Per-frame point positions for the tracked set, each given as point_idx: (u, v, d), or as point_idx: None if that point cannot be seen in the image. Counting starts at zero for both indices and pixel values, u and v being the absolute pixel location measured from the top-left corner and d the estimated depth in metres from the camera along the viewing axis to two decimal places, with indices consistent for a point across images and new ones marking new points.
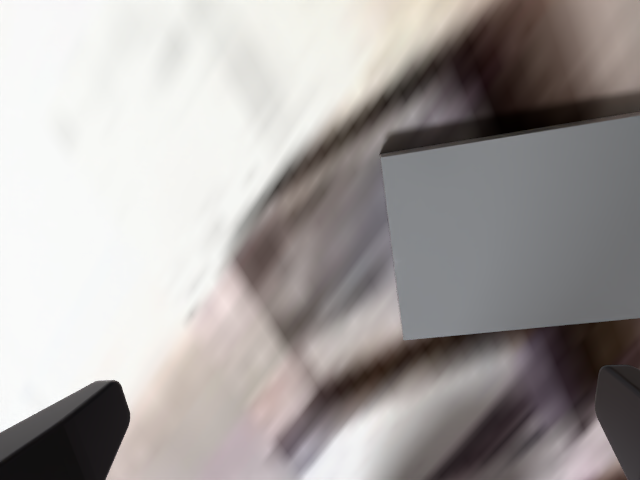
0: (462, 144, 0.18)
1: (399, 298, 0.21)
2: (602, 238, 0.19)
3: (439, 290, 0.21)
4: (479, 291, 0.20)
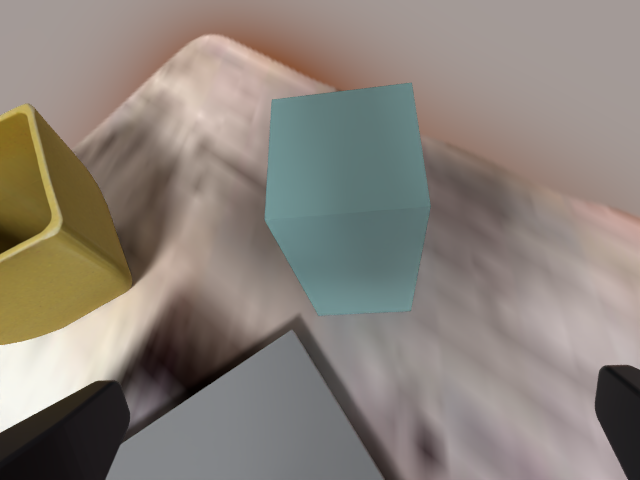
0: (150, 424, 0.20)
1: None
2: (311, 456, 0.18)
3: None
4: None
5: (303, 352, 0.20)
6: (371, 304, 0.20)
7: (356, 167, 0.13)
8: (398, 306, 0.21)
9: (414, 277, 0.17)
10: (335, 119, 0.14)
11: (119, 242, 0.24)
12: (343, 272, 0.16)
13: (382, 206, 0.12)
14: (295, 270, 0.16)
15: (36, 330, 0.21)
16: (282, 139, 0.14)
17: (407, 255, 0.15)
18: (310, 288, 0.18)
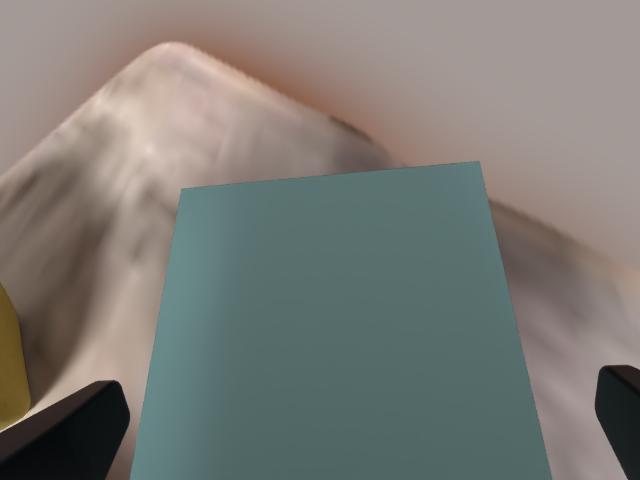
0: None
1: None
2: None
3: None
4: None
5: None
6: None
7: (358, 389, 0.05)
8: None
9: None
10: (310, 245, 0.06)
11: (9, 348, 0.16)
12: None
13: None
14: None
15: None
16: (192, 292, 0.06)
17: None
18: None
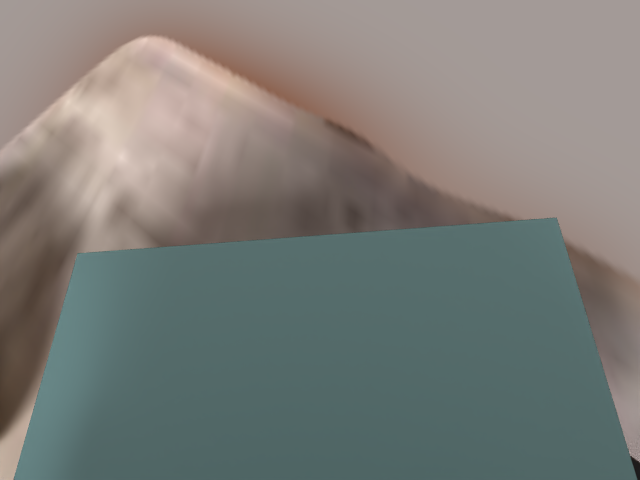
0: None
1: None
2: None
3: None
4: None
5: None
6: None
7: None
8: None
9: None
10: (274, 365, 0.04)
11: None
12: None
13: None
14: None
15: None
16: (69, 448, 0.04)
17: None
18: None
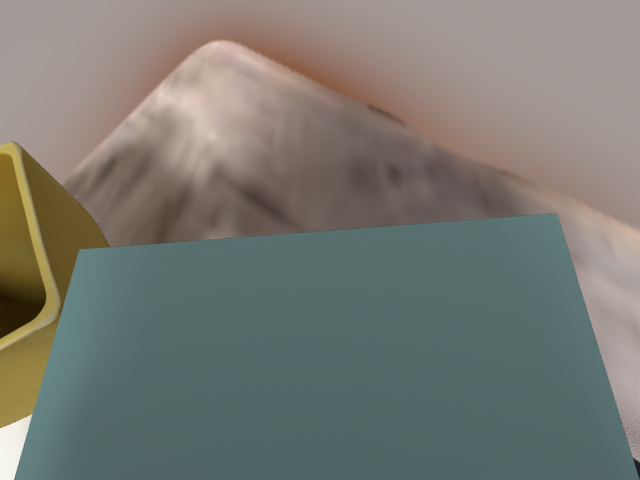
0: None
1: None
2: None
3: None
4: None
5: None
6: None
7: None
8: None
9: None
10: (275, 360, 0.04)
11: None
12: None
13: None
14: None
15: (31, 410, 0.18)
16: (72, 442, 0.04)
17: None
18: None
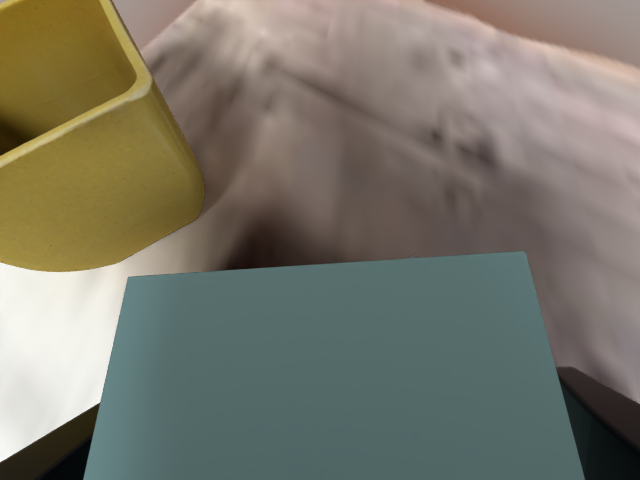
0: None
1: None
2: None
3: None
4: None
5: None
6: None
7: None
8: None
9: None
10: (296, 371, 0.04)
11: None
12: None
13: None
14: None
15: (93, 256, 0.17)
16: (131, 438, 0.04)
17: None
18: None
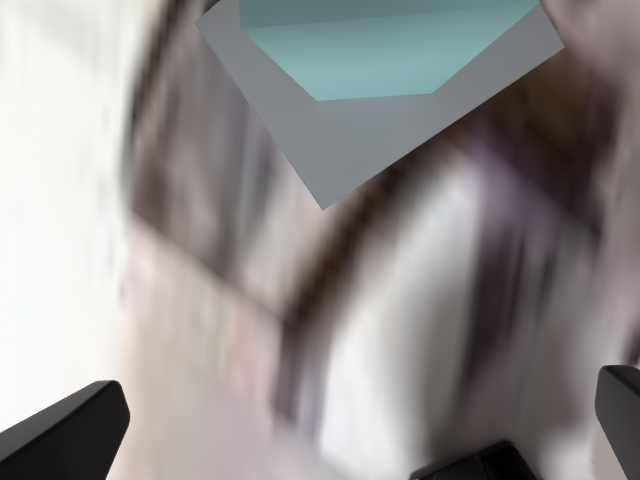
0: None
1: (292, 163, 0.18)
2: None
3: (326, 133, 0.18)
4: (367, 112, 0.18)
5: None
6: (385, 91, 0.16)
7: None
8: (419, 91, 0.16)
9: (455, 71, 0.12)
10: None
11: None
12: (358, 71, 0.11)
13: (451, 2, 0.07)
14: (290, 72, 0.11)
15: None
16: None
17: (459, 54, 0.10)
18: (309, 84, 0.13)
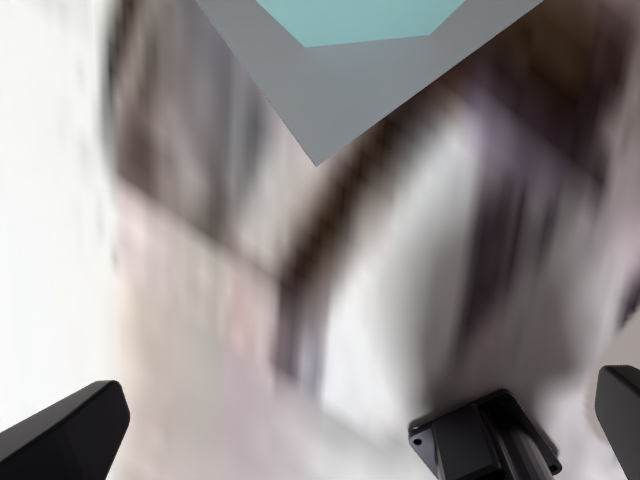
0: None
1: (281, 118, 0.17)
2: None
3: (316, 83, 0.17)
4: (359, 59, 0.16)
5: None
6: (379, 34, 0.15)
7: None
8: (415, 32, 0.15)
9: (455, 6, 0.11)
10: None
11: None
12: (348, 9, 0.10)
13: None
14: (273, 13, 0.10)
15: None
16: None
17: None
18: (295, 27, 0.12)
